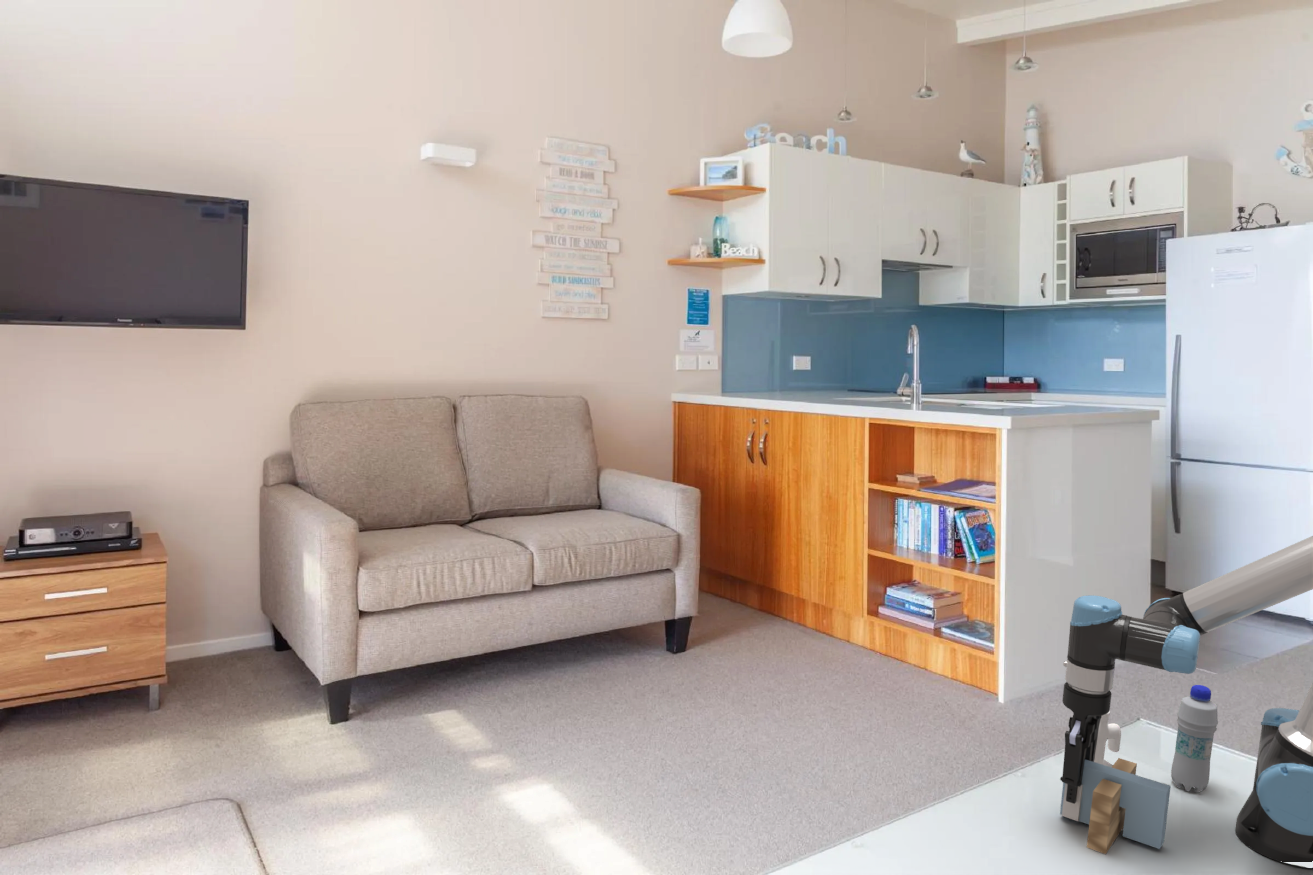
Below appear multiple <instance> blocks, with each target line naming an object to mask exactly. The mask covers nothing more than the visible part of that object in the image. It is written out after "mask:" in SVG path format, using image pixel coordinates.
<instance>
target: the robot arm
mask: <svg viewBox="0 0 1313 875" xmlns="http://www.w3.org/2000/svg"><path fill="white" fill-rule="evenodd" d="M1312 590H1313V535H1311V536H1309V537H1307V538H1304V539H1303V540H1300V541H1297V542H1295V543H1292V544H1291V545H1288V546H1285V547H1284V548H1282V549H1279V550H1278V551H1275V552H1272V553H1271V554H1268V555H1266V556H1263V557H1262V558H1259V559H1257V560H1254V561H1252V562H1249V563H1248V564H1245V565H1243V566H1241V567H1238V568H1236V569H1234V570H1231V571H1230V572H1227V573H1225V574H1223V575H1221V576H1218V577H1216V578H1213V579H1211V580H1209V581H1207V582H1205V583H1202V584H1200V585H1198V586H1196V587H1194V588H1193V587H1192V588H1191V589H1189V590H1186V591H1183V592H1182V593H1180V594H1178V595H1175V596H1172V597H1164V598H1163V597H1161V598H1159V599H1156V600H1155V601H1154V602H1152V603H1150V604H1149V606H1148V607H1147V608H1146V609H1145V611H1144V613H1143V617H1142V618H1140V617H1132V616H1129V615H1126V614H1123V611H1122V605H1121V604H1120V603H1119V601H1118V600H1115V599H1112V598H1108V597H1105V596H1101V595H1100V596H1099V595H1094V594H1093V595H1082V596H1079V597H1077V598H1076V599H1075V600H1074V602H1073V608H1072V613H1071V619H1070V621H1069V636H1068V647H1067V648H1068V649H1067V656H1066V659H1067V660H1066V661H1063V664H1062V665H1063V667H1065V668H1066V670H1065V675H1064V676H1065V678H1064V679H1065V683H1064V684H1063V693H1062V704H1063V705H1064V706H1065V707H1066V708H1067V709H1069V710H1070V711H1071V712H1072V716H1070V717H1069V720H1068V728H1069V730H1065V732H1064V755H1063V767H1062V776H1061V777H1060V779H1059V780H1060V781H1061V782H1062V784H1063V783H1065V791H1064V800H1063V809H1062V815H1061V816H1062V817H1065V818H1067V819H1070V820H1073V821H1076V822H1080V821H1079V817H1080V808H1081V799H1082V790H1083V784H1082V776H1083V769H1084V762H1085V759H1086V760H1089V761H1092V762H1094V759H1095V752H1096V745H1097V737H1098V730H1099V724H1100V719H1101V717H1102V716H1101V715H1105V714H1107V713H1108V712H1109V711H1111V703H1112V702H1111V701H1112V691H1111V690H1112V689H1113V686H1114V678H1115V668H1116V667H1115V666H1116V660H1118V661H1123V662H1128V663H1132V664H1137V665H1142V666H1145V667H1150V668H1154V669H1159V670H1164V671H1166V672H1169V673H1179V674H1187V675H1190V674H1193V673H1194V672H1195V671H1196V669H1197V664H1198V658H1199V651H1200V645H1201V644H1200V642H1201V636H1204V635H1205V634H1208V633H1210V632H1212V631H1214V630H1217V629H1220V628H1222V627H1224V626H1227V625H1229V624H1231V623H1234V622H1236V621H1239V620H1241V619H1244V618H1247V617H1248V616H1251V615H1253V614H1256V613H1258V612H1260V611H1263V610H1266V609H1267V608H1271V607H1273V606H1275V605H1278V604H1280V603H1283V602H1286V601H1287V600H1290V599H1292V598H1295V597H1297V596H1299V595H1303V594H1305V593H1308V592H1309V591H1312ZM1260 725H1261V729H1260V739H1259V744H1258V745H1259V746H1258V749H1257V750H1258V751H1257V757H1256V766H1255V772H1254V778H1253V779H1254V780H1253V788H1252V791H1251V792H1250V794H1249V796H1248V798H1247V799H1246V801H1245V803H1244V804H1243V806H1242V807H1241V810H1239V813H1238V814H1237V816H1236V821H1235V828H1234V831H1235V834H1236V836H1237V837H1238V839H1240V841H1241V842H1242V843H1243V844H1245V846H1246V847H1248V848H1250V849H1251V850H1253V851H1254V852H1256V853H1258V854H1260V855H1262V856H1264V857H1266V858H1268V859H1271V860H1274V861H1276V862H1279V861H1282V862H1312V861H1313V681H1312V682H1311V684H1310V687H1309V689H1308V691H1307V693H1306V696H1305V697H1304V700H1303V702H1302V704H1301V707H1300V708H1299V710H1297V709H1293V708H1284V707H1273V708H1269V709H1267V710H1266V711H1265V712H1264V714H1263V718H1262V721H1261V722H1260ZM1282 862H1281V863H1282Z"/></svg>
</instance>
